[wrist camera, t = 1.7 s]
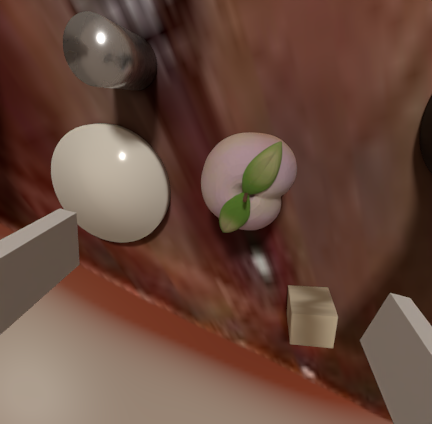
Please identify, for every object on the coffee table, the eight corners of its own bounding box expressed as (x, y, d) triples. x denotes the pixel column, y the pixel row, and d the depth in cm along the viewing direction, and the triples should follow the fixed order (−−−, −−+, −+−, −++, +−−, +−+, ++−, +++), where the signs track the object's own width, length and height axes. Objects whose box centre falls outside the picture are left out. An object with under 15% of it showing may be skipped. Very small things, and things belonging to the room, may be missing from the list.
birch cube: (327, 287, 33) (338, 316, 28) (324, 316, 35) (333, 348, 30) (288, 284, 34) (291, 313, 29) (286, 313, 36) (289, 344, 31)
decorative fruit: (227, 113, 26) (208, 119, 17) (301, 140, 26) (321, 159, 17) (202, 192, 30) (176, 230, 21) (266, 216, 30) (266, 264, 21)
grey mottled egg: (159, 39, 25) (123, 17, 18) (154, 94, 27) (121, 92, 21) (111, 30, 25) (60, 6, 19) (111, 85, 27) (65, 80, 21)
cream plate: (177, 138, 28) (172, 140, 27) (164, 248, 35) (160, 254, 33) (55, 111, 29) (44, 111, 28) (64, 222, 36) (56, 227, 34)
